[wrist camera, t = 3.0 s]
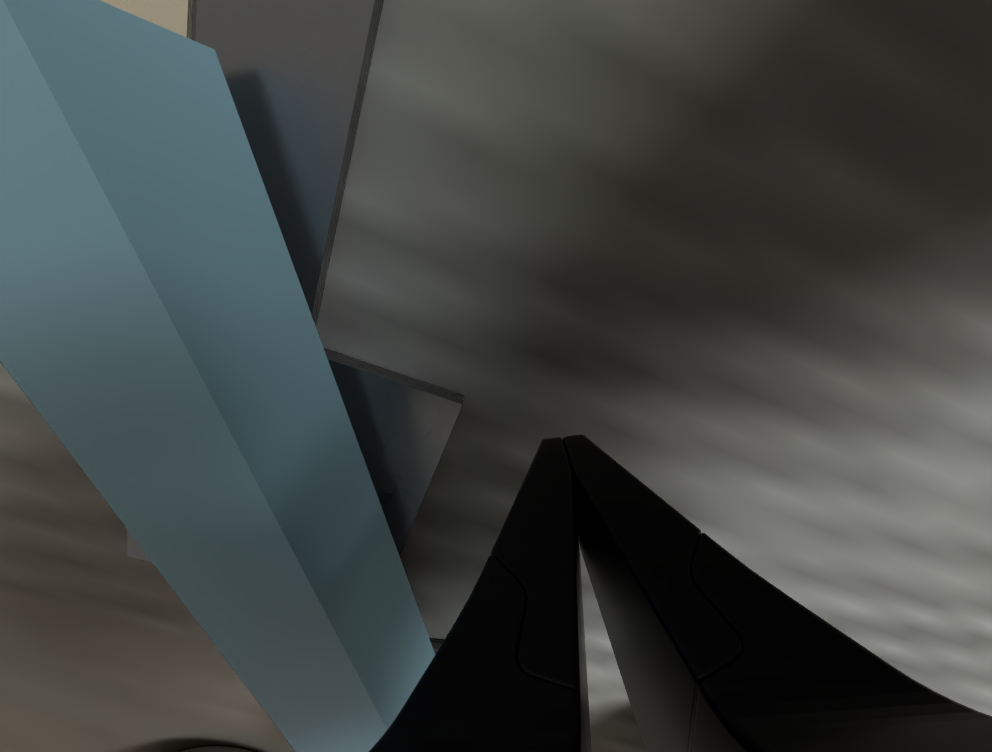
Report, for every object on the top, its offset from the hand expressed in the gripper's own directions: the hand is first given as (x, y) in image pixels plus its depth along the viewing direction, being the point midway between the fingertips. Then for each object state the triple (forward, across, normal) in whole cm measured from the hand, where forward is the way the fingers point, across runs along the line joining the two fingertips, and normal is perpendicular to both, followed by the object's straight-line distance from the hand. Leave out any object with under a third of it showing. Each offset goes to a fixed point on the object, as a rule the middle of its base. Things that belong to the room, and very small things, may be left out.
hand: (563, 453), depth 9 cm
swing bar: (+1, +5, +3) cm, 6 cm away
